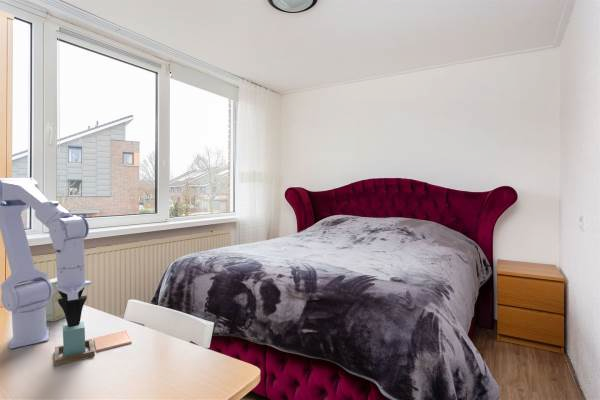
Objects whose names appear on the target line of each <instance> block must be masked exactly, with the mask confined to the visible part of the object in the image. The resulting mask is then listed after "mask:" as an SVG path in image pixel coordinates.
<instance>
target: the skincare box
mask: <svg viewBox="0 0 600 400" xmlns="http://www.w3.org/2000/svg"><path fill="white" fill-rule="evenodd" d="M49 281H50V282H51V284H52V286H53V295H52V297H51V299H50V300H48V304H46V322H57V321H60V320H61V319H64V318H66V317H65V313H64V311H63V309H62V307H61V306H60V305H59V303H58V299H60V298H62V297H61V295H60V294H59V292H58V290H57V287H56V286H57V277H54V278H50V279H49Z"/></svg>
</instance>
